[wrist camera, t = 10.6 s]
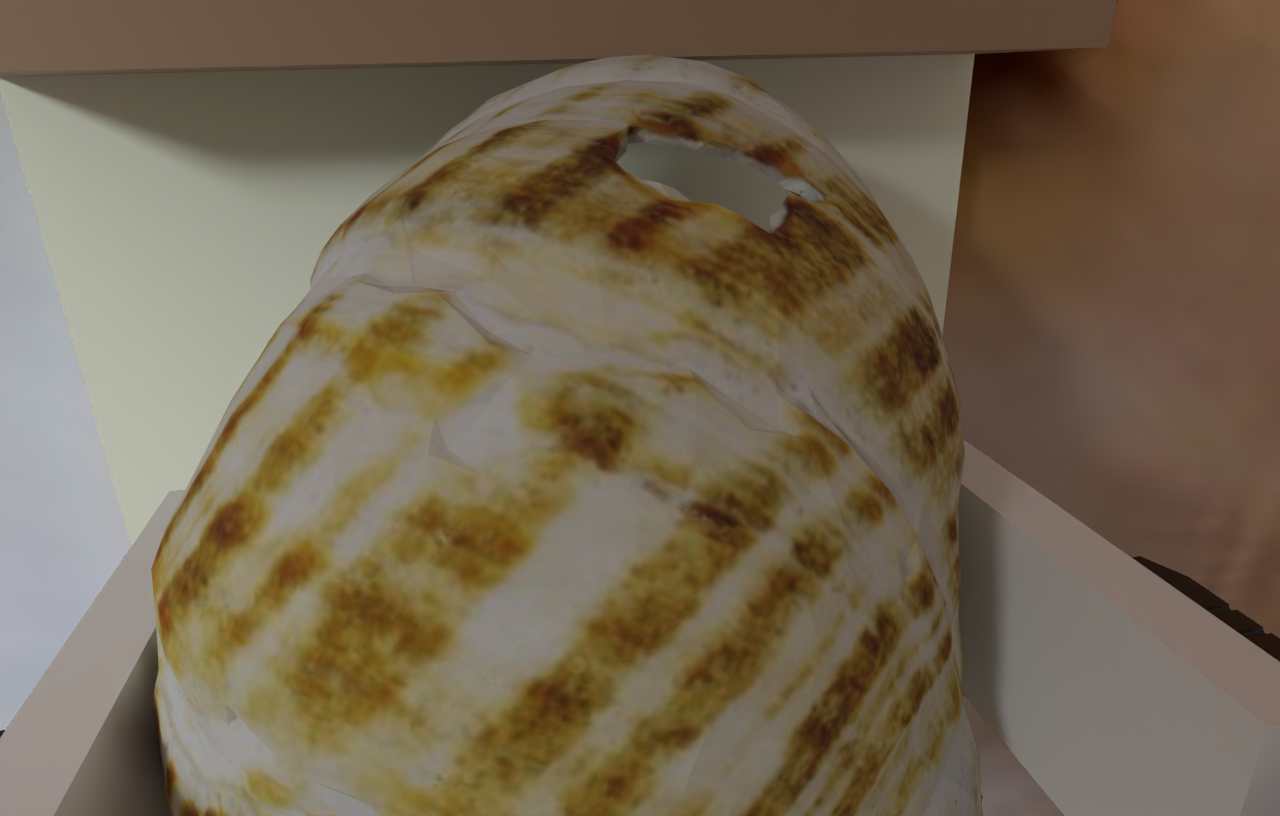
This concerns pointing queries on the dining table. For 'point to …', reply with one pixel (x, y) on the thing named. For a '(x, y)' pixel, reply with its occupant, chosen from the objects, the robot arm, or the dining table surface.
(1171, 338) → the dining table surface
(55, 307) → the dining table surface
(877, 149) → the cradle
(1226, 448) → the dining table surface
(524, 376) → the seashell
